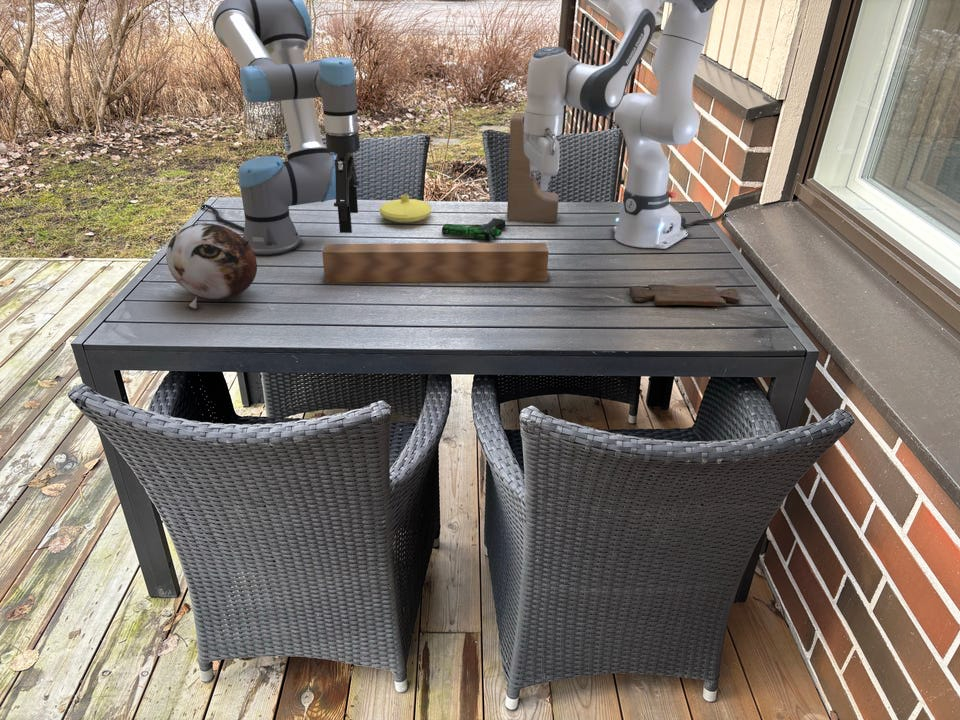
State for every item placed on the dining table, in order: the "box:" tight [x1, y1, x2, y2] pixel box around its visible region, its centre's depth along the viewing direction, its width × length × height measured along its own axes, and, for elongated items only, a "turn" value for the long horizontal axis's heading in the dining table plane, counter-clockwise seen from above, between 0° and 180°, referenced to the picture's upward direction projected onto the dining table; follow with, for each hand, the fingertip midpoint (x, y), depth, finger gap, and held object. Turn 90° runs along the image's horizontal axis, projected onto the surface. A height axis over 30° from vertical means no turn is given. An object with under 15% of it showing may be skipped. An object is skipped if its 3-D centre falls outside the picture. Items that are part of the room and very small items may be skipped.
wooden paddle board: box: [629, 284, 740, 307], centre depth 171 cm, size 26×2×10 cm
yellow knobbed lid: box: [378, 194, 433, 224], centre depth 215 cm, size 16×16×7 cm
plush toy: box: [165, 222, 258, 309], centre depth 165 cm, size 22×18×20 cm
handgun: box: [441, 217, 506, 242], centre depth 207 cm, size 16×3×15 cm
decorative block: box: [506, 112, 560, 223], centre depth 211 cm, size 8×15×30 cm, turn 82°
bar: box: [321, 242, 549, 284], centre depth 178 cm, size 55×6×8 cm, turn 93°
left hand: (349, 222), depth 172 cm, fingers open, 13 cm apart
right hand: (538, 184), depth 171 cm, fingers open, 8 cm apart
